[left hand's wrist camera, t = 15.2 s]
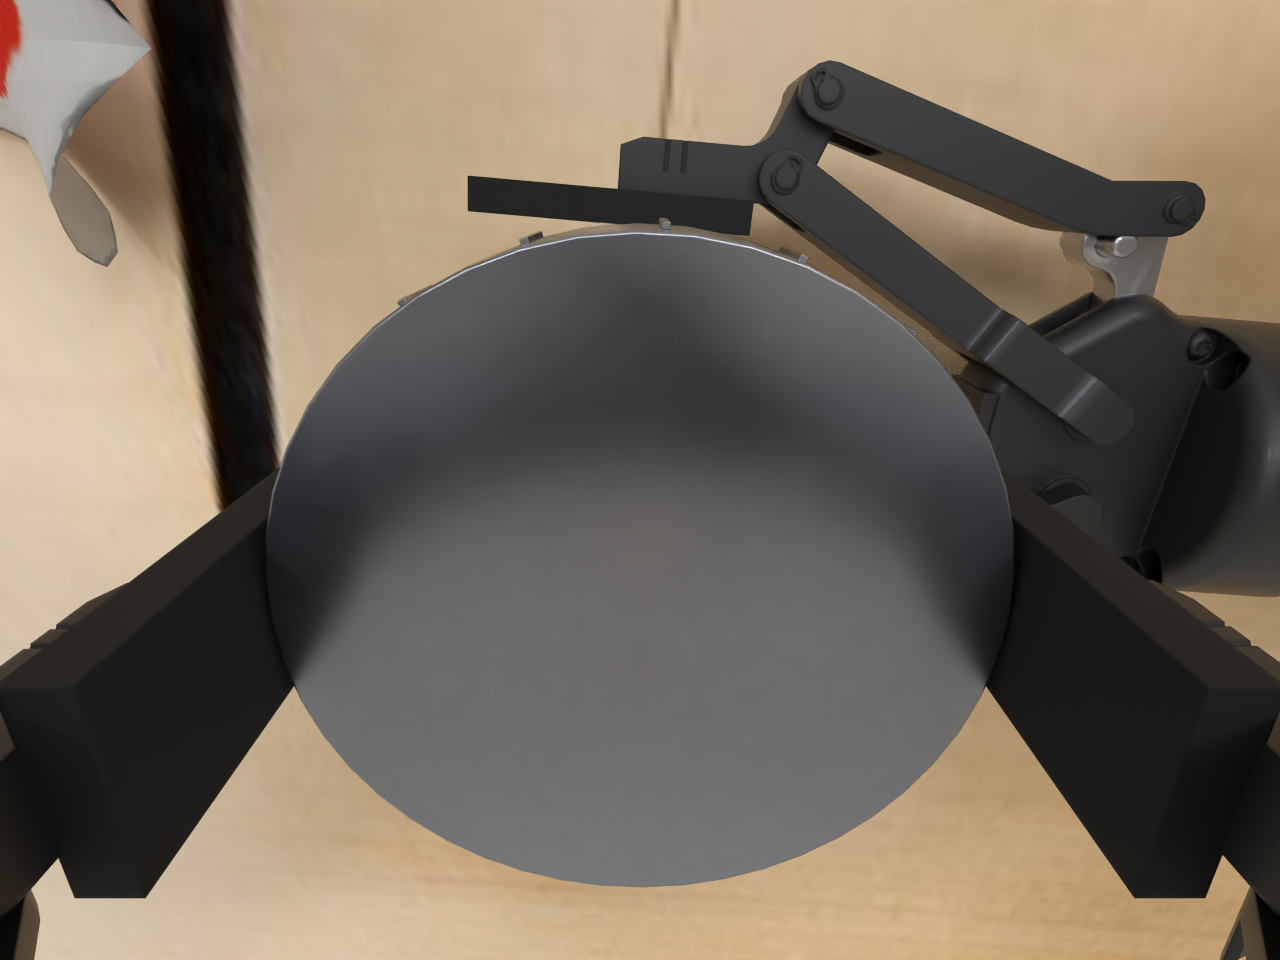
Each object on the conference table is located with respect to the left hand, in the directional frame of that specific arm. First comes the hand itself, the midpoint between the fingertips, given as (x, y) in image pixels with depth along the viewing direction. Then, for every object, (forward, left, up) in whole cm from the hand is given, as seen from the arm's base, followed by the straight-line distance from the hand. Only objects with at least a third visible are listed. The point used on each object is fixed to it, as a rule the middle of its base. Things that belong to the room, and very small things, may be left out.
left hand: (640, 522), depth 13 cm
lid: (0, 0, +3) cm, 3 cm away
